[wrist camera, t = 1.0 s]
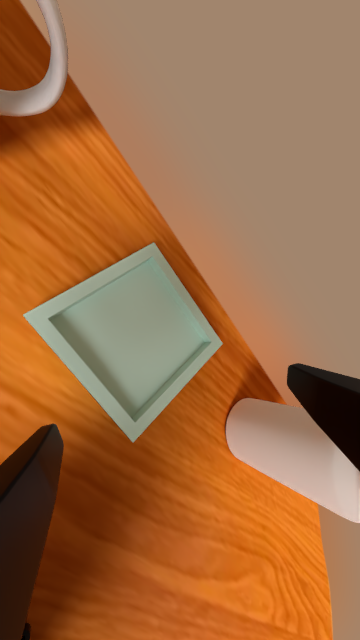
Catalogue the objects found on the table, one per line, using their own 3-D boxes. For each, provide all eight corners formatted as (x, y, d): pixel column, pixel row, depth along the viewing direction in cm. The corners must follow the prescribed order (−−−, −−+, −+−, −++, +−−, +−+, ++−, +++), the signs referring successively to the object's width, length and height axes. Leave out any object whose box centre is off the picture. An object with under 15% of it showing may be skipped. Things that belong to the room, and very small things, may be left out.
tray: (212, 344, 24) (222, 343, 22) (126, 435, 18) (133, 442, 16) (147, 250, 21) (154, 242, 20) (26, 319, 16) (22, 314, 14)
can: (272, 425, 26) (411, 467, 16) (244, 473, 23) (395, 565, 13) (245, 384, 25) (376, 403, 15) (212, 429, 22) (349, 492, 12)
